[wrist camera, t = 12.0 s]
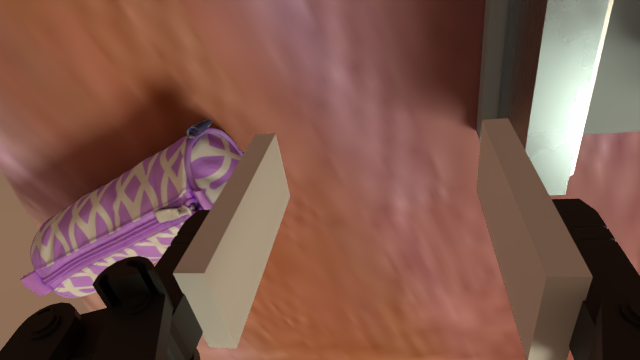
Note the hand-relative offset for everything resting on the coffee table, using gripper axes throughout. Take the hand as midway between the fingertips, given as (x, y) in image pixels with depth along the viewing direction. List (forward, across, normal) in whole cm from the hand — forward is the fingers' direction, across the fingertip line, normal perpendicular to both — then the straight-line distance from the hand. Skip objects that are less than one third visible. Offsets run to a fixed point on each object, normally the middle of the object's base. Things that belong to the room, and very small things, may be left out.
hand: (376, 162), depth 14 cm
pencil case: (+17, -22, -13) cm, 30 cm away
